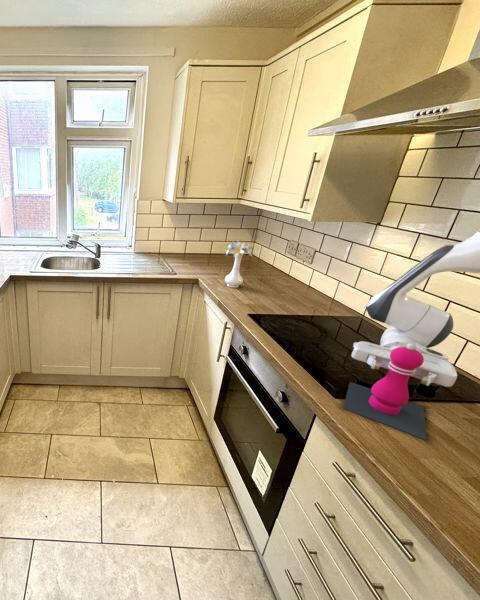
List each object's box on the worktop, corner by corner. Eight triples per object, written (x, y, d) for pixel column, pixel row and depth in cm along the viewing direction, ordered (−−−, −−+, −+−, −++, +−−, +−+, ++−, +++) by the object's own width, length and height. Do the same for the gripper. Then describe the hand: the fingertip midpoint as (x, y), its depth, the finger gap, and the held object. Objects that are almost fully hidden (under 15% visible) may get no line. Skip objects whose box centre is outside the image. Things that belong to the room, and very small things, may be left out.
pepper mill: (407, 412, 84) (440, 348, 77) (391, 419, 82) (423, 353, 74) (375, 395, 91) (403, 334, 83) (360, 401, 88) (387, 339, 81)
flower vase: (239, 281, 185) (248, 238, 176) (248, 291, 169) (259, 245, 159) (216, 279, 188) (223, 237, 178) (223, 290, 171) (231, 244, 161)
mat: (423, 407, 87) (423, 406, 87) (426, 440, 76) (426, 439, 76) (349, 382, 97) (349, 381, 97) (343, 408, 86) (343, 407, 86)
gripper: (357, 332, 96) (352, 349, 87) (456, 357, 83) (463, 381, 74) (350, 350, 99) (345, 368, 89) (446, 377, 86) (451, 402, 76)
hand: (399, 374), depth 81 cm, fingers open, 8 cm apart
